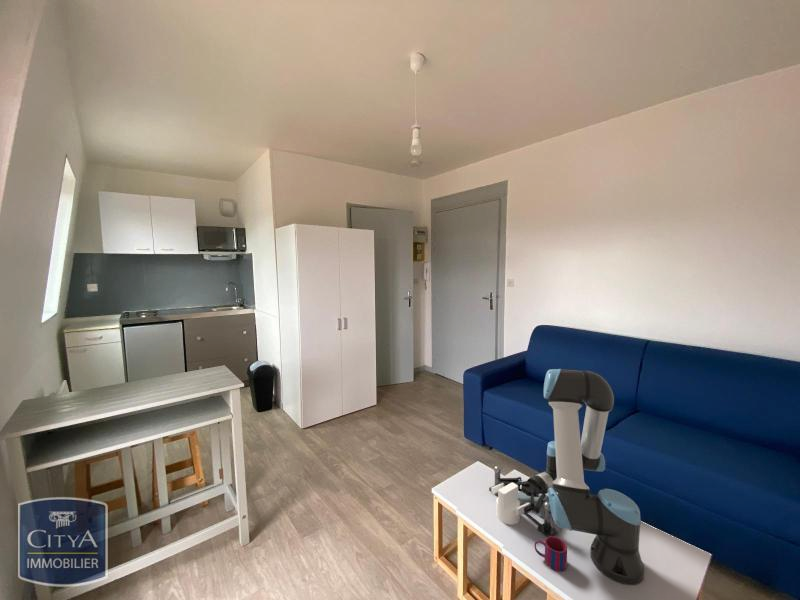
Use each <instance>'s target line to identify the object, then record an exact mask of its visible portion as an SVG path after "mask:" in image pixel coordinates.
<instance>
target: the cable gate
mask: <svg viewBox="0 0 800 600" xmlns="http://www.w3.org/2000/svg"><path fill="white" fill-rule="evenodd" d="M493 473H494V485H492V486H489V488H488V491H490V492H491V487H494V486H495V485H496V484H499V479H500V478H501V473H502V468H501V467H500V466H499V465H496V466H494V468H493ZM493 495H495V497H496V498H497V497H498V493H495V494H493ZM543 506H544V516H543V520H544V521H543V523H540V521H538V520H537V519H536V518H534V517H533V516H532V515H531V514H530V513H529V512H528V513H523V515H525V516H526V517H527V518H529V519H530V520H532V522H534V523H535V524H536V525H537V529H536V530H537V531H538V532H539V533H540V534H542V535H543V536H544V537H546V538H547V537H550V536H554V537H556V536H557V535H558V529H556V528H554V527H553V526H552V513H551V509H550V503H549V502H548V501H547V502H545V503H544V505H543Z"/></svg>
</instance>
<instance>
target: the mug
mask: <svg viewBox="0 0 800 600" xmlns="http://www.w3.org/2000/svg"><path fill="white" fill-rule="evenodd" d="M537 544H541V545H543V546H544V553H542V552H541V551H540V550H538V549H537ZM534 551H535V552H536V554H538V555H539V556H541V557H542V558H544V562H545V564H546V566H547V567H548V568H549V569H552V570H553V571H555V572H565V571H566V570H567V568H568V567H567V566H568V545H567V543H566V542H565V541H564V539H561V538H559V537H557V536H550V537H546V538H545V541H543V540H540V539H536V540H535V542H534Z"/></svg>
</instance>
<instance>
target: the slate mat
mask: <svg viewBox="0 0 800 600" xmlns="http://www.w3.org/2000/svg"><path fill="white" fill-rule="evenodd" d="M545 495H546V501H545V502H547V501H548V502H549V496H548V495H547V494H545ZM538 499H539V497H534V505H535V506H536V504H537V502H538ZM518 501H519V503H520V504H522V505H524V504H526V503H528V502H529V503H530V505H531V496H527V495H526V494H525V493H523V492H521V491H518ZM545 502H543V504H542V506H541V509H540V511H539V513H538V514H537V513H536V512H535V511H532V512H533V513H535V515H537V516H538V517H540V518H544V506H543V505H544V503H545Z"/></svg>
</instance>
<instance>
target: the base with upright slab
mask: <svg viewBox="0 0 800 600" xmlns="http://www.w3.org/2000/svg"><path fill="white" fill-rule="evenodd" d="M518 493H519V491H518V485H516V484H515V483H513V482H512V483H510V484H508V485H506V486H504V487H503V488H501V489H499V490H498V497H497V496H496V500H495V501H496V503H495V505H496V506H495V507H496V509H495V510H496V511H495V513H496V518H497V519H498V520H499V521H500V522H501V523H503V524H505V525H508V526H509V525H510V526H513V525H516V524H518V523H520V520H521V519H520V518H521V516H520V515H519V516H517V515H516V508H517V507H520V506H521V505H520V504H521V502H520V501H519V500H518Z"/></svg>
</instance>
